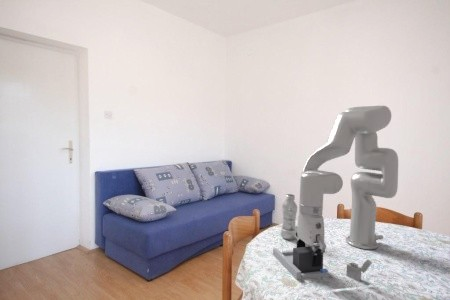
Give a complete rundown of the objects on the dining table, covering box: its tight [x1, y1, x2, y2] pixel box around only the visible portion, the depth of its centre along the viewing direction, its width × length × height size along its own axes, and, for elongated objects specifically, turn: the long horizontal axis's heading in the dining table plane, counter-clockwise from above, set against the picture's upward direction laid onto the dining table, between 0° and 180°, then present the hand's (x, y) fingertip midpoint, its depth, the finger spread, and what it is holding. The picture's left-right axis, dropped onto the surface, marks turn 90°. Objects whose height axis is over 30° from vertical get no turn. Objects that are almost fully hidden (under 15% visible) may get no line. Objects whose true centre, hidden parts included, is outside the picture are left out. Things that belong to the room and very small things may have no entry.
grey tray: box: [272, 247, 330, 281], centre depth 94 cm, size 12×18×3 cm, turn 14°
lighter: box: [346, 259, 373, 282], centre depth 85 cm, size 7×2×8 cm, turn 39°
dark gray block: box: [292, 245, 324, 273], centre depth 91 cm, size 9×4×7 cm, turn 104°
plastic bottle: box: [280, 193, 298, 241], centre depth 118 cm, size 6×7×20 cm
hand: (308, 259), depth 91 cm, fingers open, 9 cm apart
